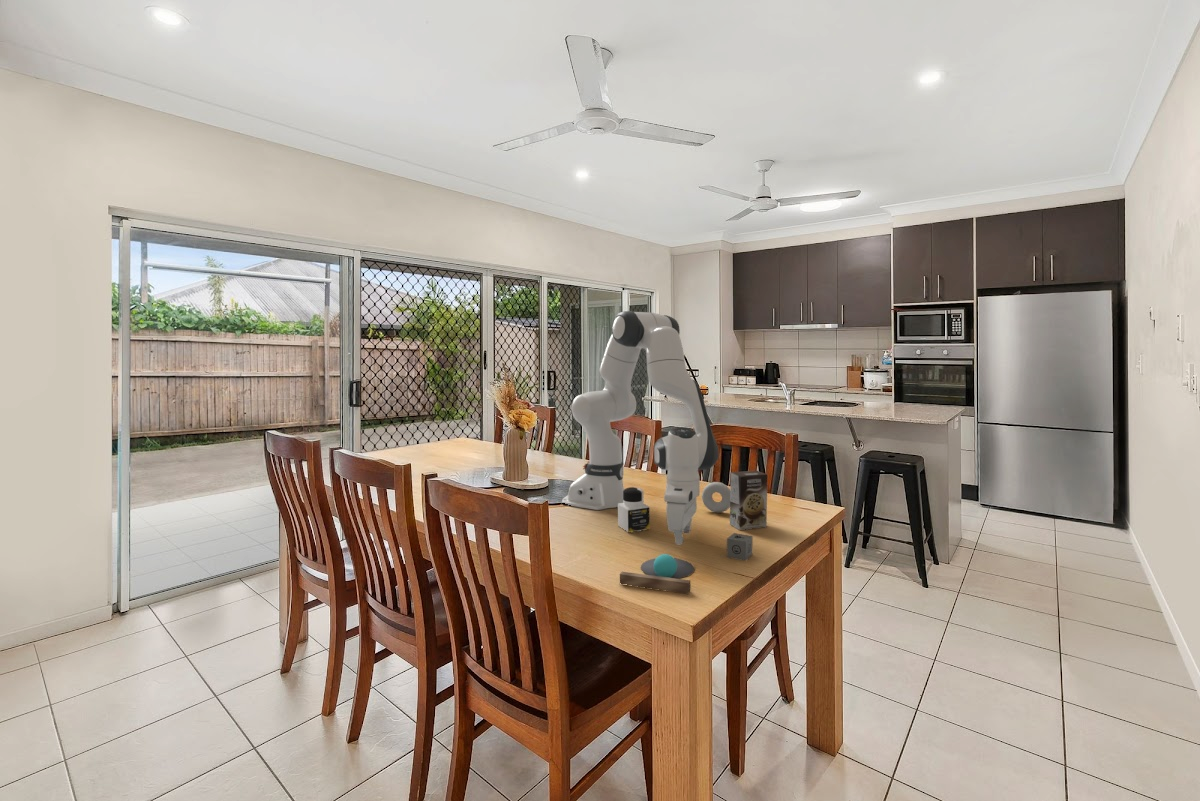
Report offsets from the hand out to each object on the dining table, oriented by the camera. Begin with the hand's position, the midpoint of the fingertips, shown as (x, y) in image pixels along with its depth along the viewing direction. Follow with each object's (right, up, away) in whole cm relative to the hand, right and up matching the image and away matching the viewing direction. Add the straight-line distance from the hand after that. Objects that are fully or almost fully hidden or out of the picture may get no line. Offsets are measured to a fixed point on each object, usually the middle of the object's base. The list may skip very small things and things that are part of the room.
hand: (683, 538), depth 159 cm
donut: (+15, +1, +29) cm, 32 cm away
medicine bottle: (-13, -1, +15) cm, 19 cm away
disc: (-6, -4, -17) cm, 18 cm away
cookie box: (+21, 0, +15) cm, 26 cm away
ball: (-7, -1, -22) cm, 24 cm away
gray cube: (+13, -3, -9) cm, 16 cm away
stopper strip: (-10, -5, -28) cm, 30 cm away
